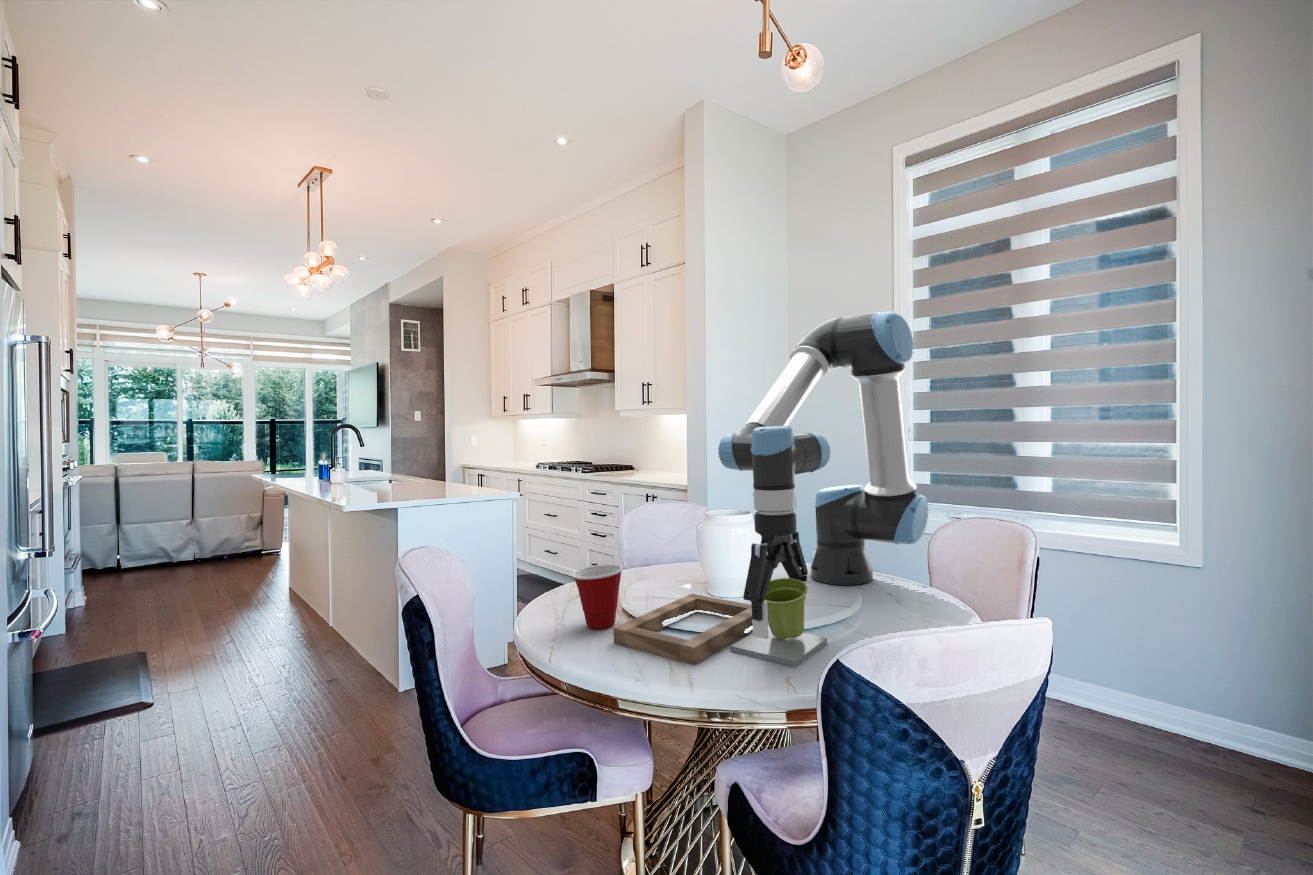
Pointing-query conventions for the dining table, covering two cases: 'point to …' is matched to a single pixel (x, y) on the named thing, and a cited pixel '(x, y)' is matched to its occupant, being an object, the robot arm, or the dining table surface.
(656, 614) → the open rectangular wooden frame
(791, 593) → the plant pot
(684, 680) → the dining table surface
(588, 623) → the plastic cup
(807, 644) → the slate coaster
